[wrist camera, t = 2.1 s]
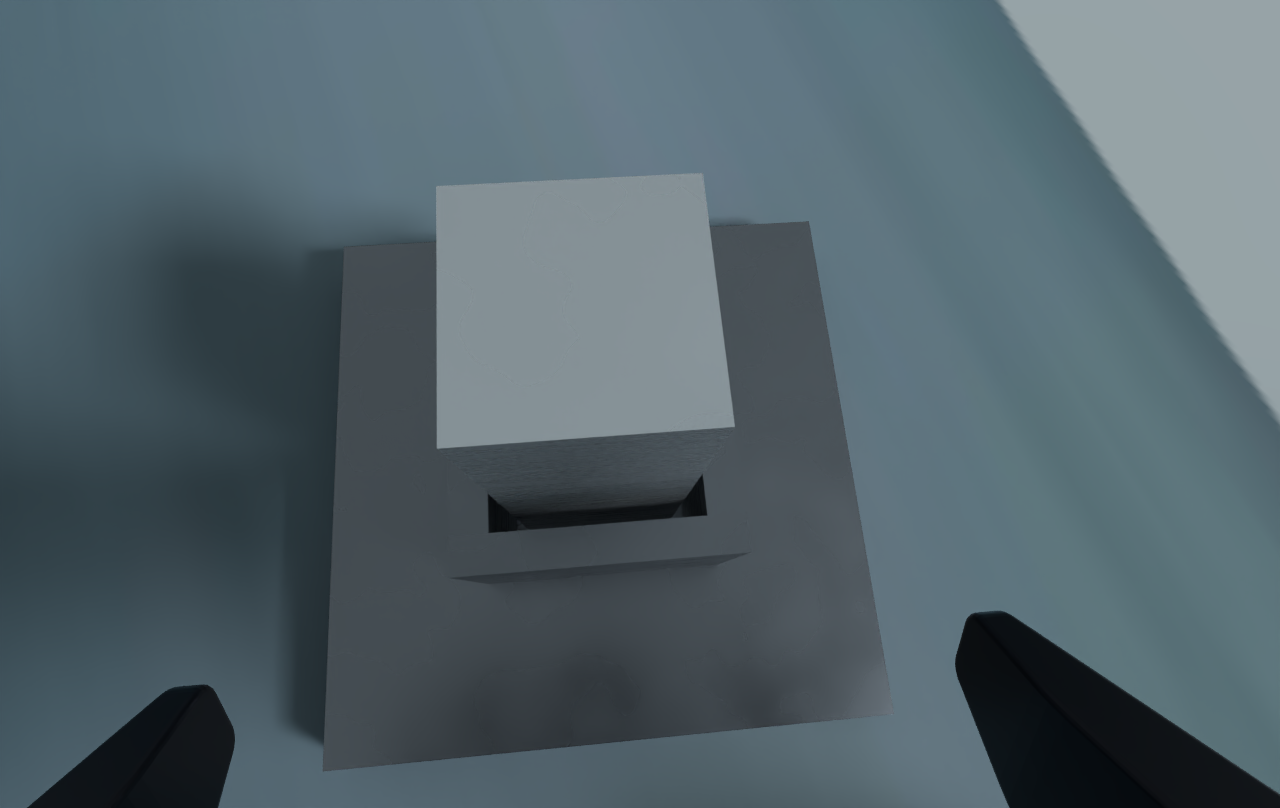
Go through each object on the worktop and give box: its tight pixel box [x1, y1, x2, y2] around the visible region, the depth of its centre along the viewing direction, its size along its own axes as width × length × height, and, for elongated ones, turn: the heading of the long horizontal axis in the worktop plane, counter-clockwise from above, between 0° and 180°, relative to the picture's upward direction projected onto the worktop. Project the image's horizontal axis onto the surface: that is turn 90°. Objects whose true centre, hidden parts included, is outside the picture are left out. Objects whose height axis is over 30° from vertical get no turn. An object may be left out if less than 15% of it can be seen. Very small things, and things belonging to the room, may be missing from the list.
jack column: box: [436, 173, 735, 530], centre depth 14 cm, size 4×4×10 cm
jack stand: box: [323, 222, 894, 771], centre depth 17 cm, size 14×14×6 cm
